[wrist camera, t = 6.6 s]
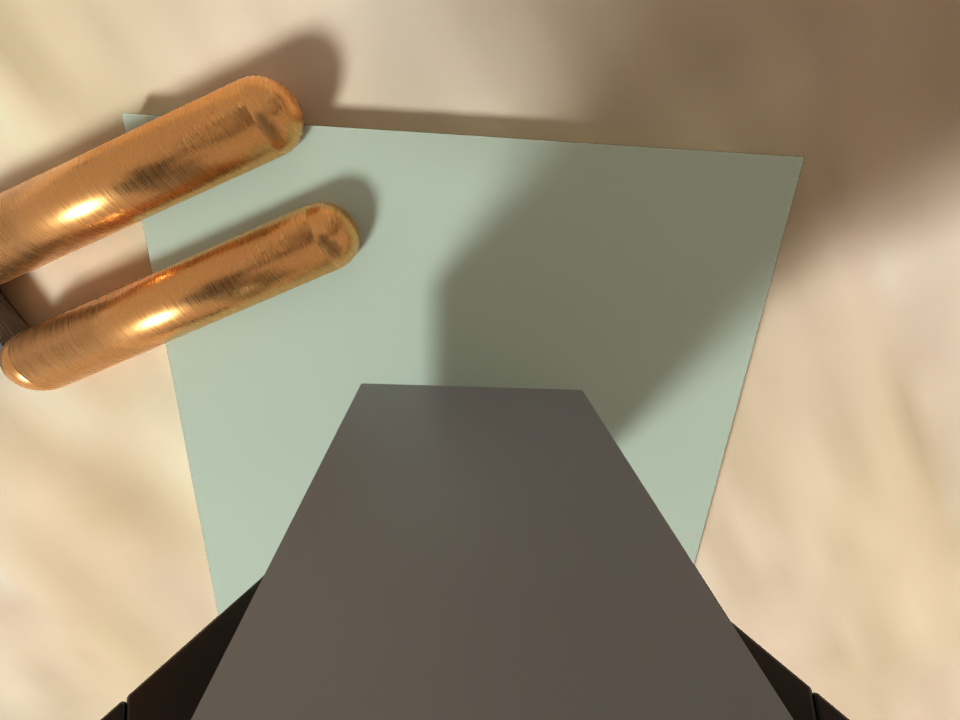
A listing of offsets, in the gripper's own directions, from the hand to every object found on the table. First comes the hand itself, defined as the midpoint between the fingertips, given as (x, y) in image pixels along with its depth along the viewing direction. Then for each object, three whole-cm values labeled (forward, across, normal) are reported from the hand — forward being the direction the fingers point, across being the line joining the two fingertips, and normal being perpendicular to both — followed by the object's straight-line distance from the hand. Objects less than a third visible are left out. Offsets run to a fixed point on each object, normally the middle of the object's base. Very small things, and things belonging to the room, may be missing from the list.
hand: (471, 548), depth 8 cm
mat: (+4, 0, 0) cm, 4 cm away
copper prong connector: (+4, +9, -4) cm, 11 cm away
